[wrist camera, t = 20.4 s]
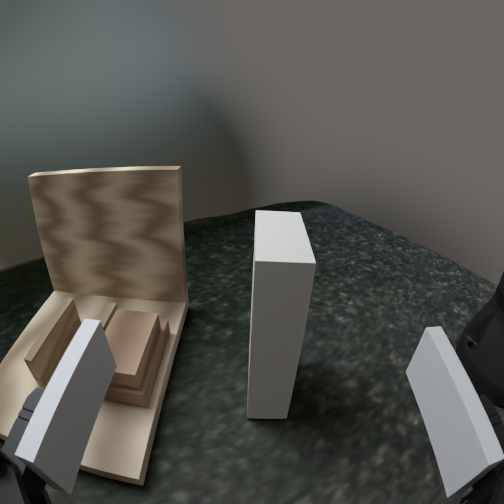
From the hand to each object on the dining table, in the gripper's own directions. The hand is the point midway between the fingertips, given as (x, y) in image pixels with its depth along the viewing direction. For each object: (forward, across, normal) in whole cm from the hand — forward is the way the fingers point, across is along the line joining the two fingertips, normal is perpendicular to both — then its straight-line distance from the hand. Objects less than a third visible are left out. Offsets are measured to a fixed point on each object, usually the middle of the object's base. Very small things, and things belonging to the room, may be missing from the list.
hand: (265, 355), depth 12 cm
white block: (+11, +1, -16) cm, 20 cm away
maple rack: (+11, -18, -16) cm, 26 cm away
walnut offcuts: (+11, -12, -14) cm, 22 cm away
